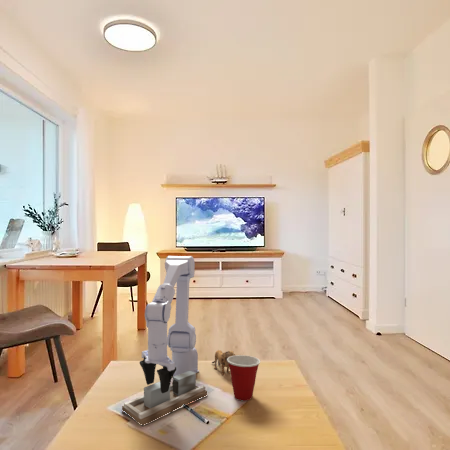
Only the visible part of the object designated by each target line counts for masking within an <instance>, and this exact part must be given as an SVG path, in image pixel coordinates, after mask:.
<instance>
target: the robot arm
mask: <svg viewBox="0 0 450 450" xmlns="http://www.w3.org/2000/svg"><path fill="white" fill-rule="evenodd" d="M195 264H196V262H195V258H194V257H193V255H187V256H186V255H184V256H183V255H182V256H181V255H179V256H178V255H168V256H166V258H165V262H164V269H165V278H164V280H163V283H162V284H159V285H158V288H157V289H156V291H155V294H154V296H153V299H152V301H150V302H149V303H147V305H146V307H145V308H144V309H145V310H144V319H145V323H146V324H145V326H146V328H147V349H146V350H142V351H141V359H142V360H140V361H139V365H140V367H141V369H142V372H143V375H144V378H145V381H146V385H147V386H149V385H152V384H155V383H154V382H155V375H156V374H155V373H156V372H157V375H158V378H159V382H160V387H161V393H165V392H168V390H169V386H170V385H171V382H172V380H173V377H174V376H177V375H180V374H182V373H185V372H187V371H192V372H194V373H196V374H197V373H199V372H200V370H199V367H198V363H199V360H198V359H199V357H198V351H197V348H196V347H195V346H196V342H197V335H196V328H195V326H194V325H193V324H191V323H190V322H189V310H190V309H189V305H190V302H189V301H190V282H191V279H193V278H194V277H195V272H196V271H195V267H196V265H195ZM175 286H176V290H175ZM175 295H176V296H175ZM174 296H175V323H173V324H171V325H170V327H169V328H168V322H169V320H170V318H171V311H172V302H173V299H174ZM168 348H169V350H170V351H171V358H170V356H169V355H168ZM157 365H159V366H161V368H159V369H157V370H156V367H157Z"/></svg>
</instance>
